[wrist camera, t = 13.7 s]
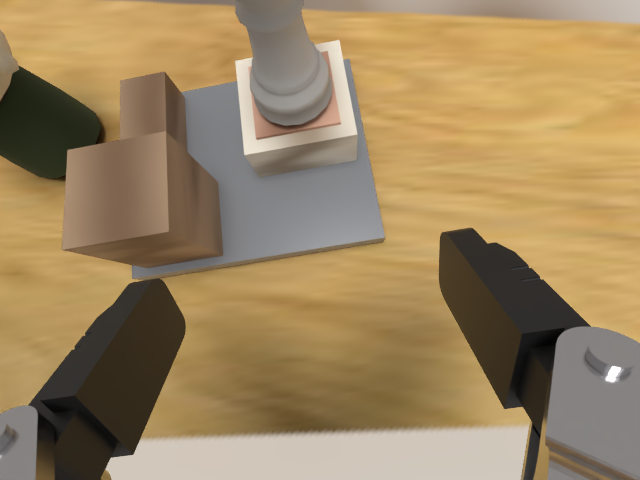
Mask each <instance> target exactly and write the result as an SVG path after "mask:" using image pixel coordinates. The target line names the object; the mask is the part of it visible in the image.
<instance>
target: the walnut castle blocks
mask: <svg viewBox="0 0 640 480" xmlns="http://www.w3.org/2000/svg"><path fill="white" fill-rule="evenodd" d="M62 250H65V251H70V252H74V253H79V254H83V255H88V256H93V257H97V258H102V259H106V260H111V261H116V262H120V263H125V264H130V265H134V266H139V267H143V268H152V267H158V266H164V265H170V264H176V263H182V262H188V261H194V260H201V259H207V258H213V257H219V256H223V244H222V230H221V216H220V202H219V188H218V182H217V181H216V180H215V179H214V178H213V177H212V176H211V175H210V174H209V173H208V172H207V171H206V170H205V169H204V168H203V167H202V166H201V165H200V164H199V163H198V162H197V161H196V160H195V159H194V158H193V157H192V156H191V155H190V154H189V153H188V152H187V133H186V112H185V97H184V96H183V95H182V93H181V92H180V91H179V89H178V88H177V87H176V86H175V84H174V83H173V82H172V80H171V79H170V78H169V77H168V75H167V74H166V73H165V72H160V73H155V74H150V75H146V76H141V77H136V78H131V79H126V80H121V81H120V140H117V141H112V142H107V143H102V144H96V145H91V146H86V147H81V148H75V149H70V150H67V168H66V186H65V204H64V223H63V241H62Z"/></svg>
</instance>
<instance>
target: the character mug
mask: <svg viewBox="0 0 640 480" xmlns="http://www.w3.org/2000/svg"><path fill="white" fill-rule="evenodd" d="M100 128H101V126H100V123H99V121H98V118H97V116H96V113H94V112H93V111H92V110H90V109H89V108H88V107H86V106H85V105H84V104H82V103H80V102H79V101H77V100H76V99H74V98H73V97H71V96H70V95H68V94H67V93H65V92H63V91H62V90H60V89H59V88H57V87H55V86H53V85H52V84H50V83H48V82H47V81H45V80H43V79H41V78H40V77H38V76H36V75H34V74H33V73H31V72H29V71H27V70H26V69H24V68H22V67H20V66H19V65H18V63H17V61H16V60H15V59H14V58H13V56H12V52H11V49H10V46H9V44H8V41H7V39H6V37H5V35H4V34H3V33H2V31H1V30H0V155H1V156H3V157H4V158H6V159H8V160H9V161H11V162H13V163H14V164H16V165H18V166H20V167H22V168H24V169H26V170H27V171H29V172H31V173H33V174H35V175H37V176H39V177H46V178H53V179H56V178H59V177H61V176H64V175H66V168H67V150H70V149H75V148H81V147H86V146H91V145H95V143H96V141H97V138H98V135H99V132H100Z"/></svg>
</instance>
